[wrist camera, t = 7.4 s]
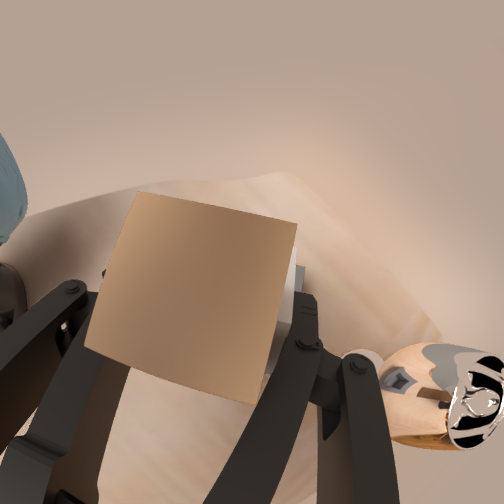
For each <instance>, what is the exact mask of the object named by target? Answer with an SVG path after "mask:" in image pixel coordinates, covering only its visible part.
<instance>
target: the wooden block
mask: <svg viewBox="0 0 504 504" xmlns="http://www.w3.org/2000/svg"><path fill="white" fill-rule="evenodd" d="M296 229H297V224H296V223H292V222H287V221H283V220H279V219H274V218H270V217H265V216H261V215H256V214H252V213H247V212H242V211H238V210H233V209H228V208H223V207H218V206H214V205H209V204H204V203H199V202H194V201H188V200H183V199H178V198H173V197H167V196H162V195H156V194H151V193H145V192H140V191H138V193H137V195H136V197H135V200H134V202H133V204H132V206H131V209H130V211H129V213H128V215H127V218H126V220H125V223H124V225H123V227H122V230H121V232H120V235H119V237H118V240H117V242H116V245H115V248H114V250H113V253H112V256H111V258H110V261H109V264H108V267H107V269H106V272H105V275H104V278H103V281H102V284H101V287H100V290H99V293H98V297H97V300H96V303H95V306H94V310H93V313H92V317H91V320H90V324H89V327H88V331H87V335H86V339H85V343H84V346H85V347H87V348H89V349H91V350H93V351H96V352H98V353H100V354H102V355H104V356H107V357H109V358H111V359H113V360H116V361H118V362H120V363H123V364H125V365H128V366H130V367H133V368H135V369H138V370H140V371H143V372H145V373H148V374H151V375H153V376H156V377H159V378H162V379H165V380H168V381H170V382H173V383H176V384H179V385H183V386H186V387H189V388H192V389H195V390H199V391H202V392H206V393H209V394H213V395H216V396H220V397H224V398H228V399H232V400H236V401H240V402H244V403H248V404H253V405H256V403H257V399H258V395H259V392H260V388H261V384H262V380H263V376H264V372H265V368H266V364H267V360H268V356H269V352H270V348H271V344H272V340H273V335H274V331H275V327H276V323H277V318H278V314H279V310H280V305H281V301H282V296H283V292H284V287H285V283H286V278H287V273H288V268H289V264H290V259H291V254H292V249H293V244H294V239H295V234H296Z"/></svg>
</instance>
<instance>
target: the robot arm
mask: <svg viewBox="0 0 504 504" xmlns="http://www.w3.org/2000/svg"><path fill="white" fill-rule="evenodd" d="M27 205H28V202H27V192H26V188H25V184H24V181H23V178H22V175H21V173H20V170H19V168H18V165H17V163H16V161H15V159H14V157H13V154H12V152H11V151H10V149H9V147H8V145H7V143H6V142H5V140H4V138H3V137H2V135H1V133H0V246H1V245H2V244H3V243H6V242H7V241H8V239H9V236H10V234H11V233H12V232H13V231H14V229H15V228H16V227H17V226H18V225H19V223H20V222H21V221H22V220H23V218H24V216H25V214H26V211H27ZM296 254H297V247H294V246H293V249H292V254H291V259H290V264H289V268H288V273H287V278H286V283H285V287H284V292H283V296H282V301H281V305H280V310H279V314H278V318H277V323H276V327H275V331H274V335H273V340H272V344H271V348H270V352H269V356H268V360H267V364H266V368H265V372H266V373H271V374H272V375H271V377H270V379H269V381H268V383H267V385H266V387H265V389H264V392H263V394H262V396H261V398H260V400H259V402H258V404H257V406H256V408H255V410H254V412H253V414H252V416H251V418H250V420H249V422H248V424H247V426H246V428H245V429H244V431H243V433H242V435H241V437H240V439H239V441H238V443H237V445H236V446H235V448H234V450H233V452H232V454H231V456H230V457H229V459H228V461H227V463H226V465H225V466H224V468H223V470H222V472H221V473H220V475H219V477H218V479H217V480H216V482H215V484H214V486H213V487H212V489H211V491H210V492H209V494H208V496H207V497H206V499H205V501H204V502H203V504H270V503H271V501H272V498H273V496H274V494H275V491H276V489H277V487H278V484H279V482H280V479H281V477H282V474H283V472H284V469H285V467H286V464H287V462H288V459H289V456H290V454H291V451H292V448H293V446H294V443H295V440H296V437H297V434H298V431H299V428H300V426H301V423H302V420H303V417H304V413H305V410H306V407H307V404H308V401H309V402H311V403H313V404H316V405H317V418H318V474H317V504H400V502H399V491H398V483H397V475H396V468H395V461H394V455H393V449H392V443H391V437H390V431H389V426H388V421H387V416H386V411H385V406H384V402H383V397H382V393H381V388H380V384H379V380H378V376H377V372H376V368H375V366H374V364H373V362H372V361H371V360H370V359H369V358H368V357H366V356H364V355H362V354H358V353H350V354H348V355H346V356H345V357H344V358H343V359H342V358H340V357H337V356H335V355H333V354H331V353H329V352H328V351H326V350H325V349H324V348H323V343H322V342H321V340H320V339H319V337H318V317H317V316H318V311H317V301H316V300H315V298H314V297H313V295H310V294H306V293H301V292H297V291H294V286H295V271H296ZM105 272H106V269H105V270H104V271H103V272H102V276H103V278H104V275H105ZM97 297H98V292H89V291H87V286H86V284H85V283H84V282H83V281H81V280H68V281H65V282H63V283H62V284H60V285H59V286H58V287H56V288H55V289H54V290H53V291H51V292H50V293H49V294H47V295H46V296H45V297H44V298H42V299H41V300H40V301H39V302H37V303H36V304H35V305H34V306H32V307H31V308H30V309H29V310H28V311H26V295H25V290H24V286H23V282H22V280H21V278H20V276H19V274H18V272H17V271H16V270H15V269H14V268H13V267H11V266H9V265H7V264H5V263H3V262H0V455H1V454H2V453H3V451H4V450H5V449H6V447H7V446H8V447H7V449H6V452H5V454H4V457H3V460H2V462H1V465H0V504H98V500H99V492H98V487H97V481H98V476H99V472H100V468H101V464H102V460H103V456H104V452H105V448H106V445H107V441H108V437H109V434H110V430H111V427H112V424H113V420H114V417H115V413H116V410H117V407H118V404H119V401H120V397H121V394H122V391H123V388H124V385H125V382H126V379H127V376H128V373H129V370H130V366H128V365H125V364H123V363H120V362H118V361H116V360H113V359H111V358H109V357H107V356H104V355H102V354H100V353H98V352H96V351H93V350H91V349H89V348H87V347H85V346H84V343H85V339H86V335H87V331H88V327H89V324H90V320H91V317H92V313H93V310H94V306H95V303H96V300H97ZM63 323H66V326H67V327H66V328H65V329H63V330H62V329H61V325H62V324H63ZM37 407H38V408H37ZM36 408H37V411H36V413H35V415H34V417H33V419H32V422H31V424H30V426H29V429H28V431H27V433H26V434H25V435H23V436H15V435H16V434H17V432H18V431H19V430H20V429H21V427H22V426H23V425H24V423H25V422H26V421H27V419H28V418H29V417H30V416H31V414H32V413H33V412H34V411H35V409H36ZM14 436H15V437H14Z"/></svg>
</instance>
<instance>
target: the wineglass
mask: <svg viewBox="0 0 504 504" xmlns="http://www.w3.org/2000/svg"><path fill="white" fill-rule="evenodd" d="M350 353H358V354H362V355H364V356H366V357H368V358H369V359H370V360H371V361H372V362H373V364H374V366H375V368H376V372H377V376H378V380H379V384H380V388H381V393H382V397H383V402H384V406H385V411H386V416H387V421H388V426H389V431H390V437H391V440H393V441H396V442H398V443H401V444H404V445H408V446H412V447H416V448H423V449H431V450H471V449H474V448H476V447H478V446H480V445H481V444H483V443H484V442H485V441H486V440H487V439H488V438H489V437H490V436H491V435H492V434H493V433H494V431H495V430H496V428H497V427H498V425H499V424H500V422H501V420H502V418H503V416H504V361H503V359H502V358H501V357H499V356H498V355H496V354H492V353H488V352H484V351H480V350H476V349H472V348H467V347H463V346H457V345H453V344H446V343H438V342H425V343H417V344H413V345H410V346H407V347H404V348H402V349H400V350H398V351H397V352H395V353H394V354H393V355H392V356H391V357H389V358H388V359H387V360H386V361H385V362H384V360H383V359H382V358H381V356H380V355H378V354H377V353H376V352H374V351H371V350H368V349H356V350H352V351H350V352H348V353H346V354H344V355H343V356H341V357H340V358H342V359H343V358H344V357H345V356H346V355H348V354H350Z"/></svg>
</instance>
